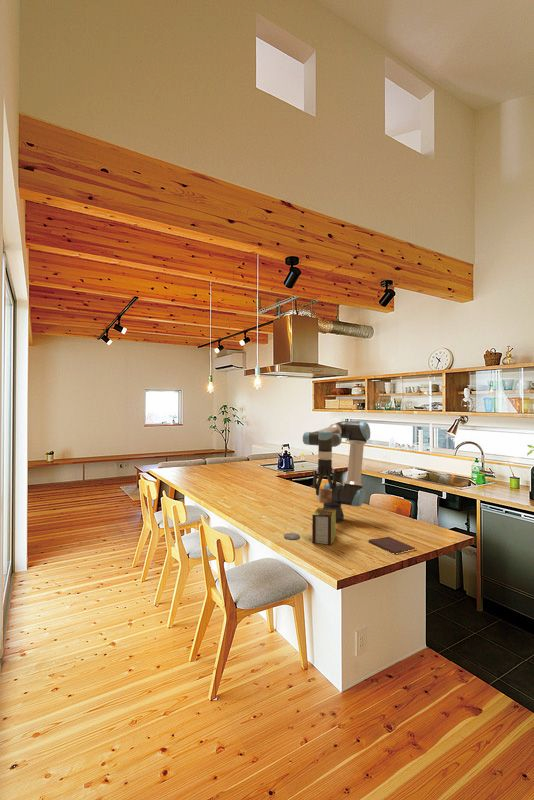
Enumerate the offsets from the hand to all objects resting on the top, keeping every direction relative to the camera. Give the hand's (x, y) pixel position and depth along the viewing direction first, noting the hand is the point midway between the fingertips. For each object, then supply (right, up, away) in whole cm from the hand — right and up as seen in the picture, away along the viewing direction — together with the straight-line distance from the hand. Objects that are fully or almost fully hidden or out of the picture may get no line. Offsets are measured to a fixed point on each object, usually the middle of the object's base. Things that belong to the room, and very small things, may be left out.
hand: (324, 500), depth 218 cm
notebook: (+35, -23, -9) cm, 42 cm away
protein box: (0, -22, 0) cm, 22 cm away
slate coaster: (-18, -21, +3) cm, 28 cm away
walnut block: (0, 0, 0) cm, 0 cm away
